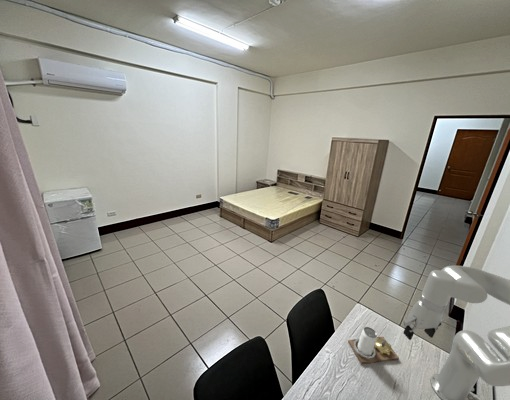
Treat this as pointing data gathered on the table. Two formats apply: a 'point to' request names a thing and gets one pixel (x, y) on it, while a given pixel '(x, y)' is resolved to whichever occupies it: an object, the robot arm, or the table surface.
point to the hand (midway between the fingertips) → (417, 335)
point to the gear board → (377, 357)
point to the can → (367, 341)
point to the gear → (383, 347)
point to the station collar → (361, 353)
